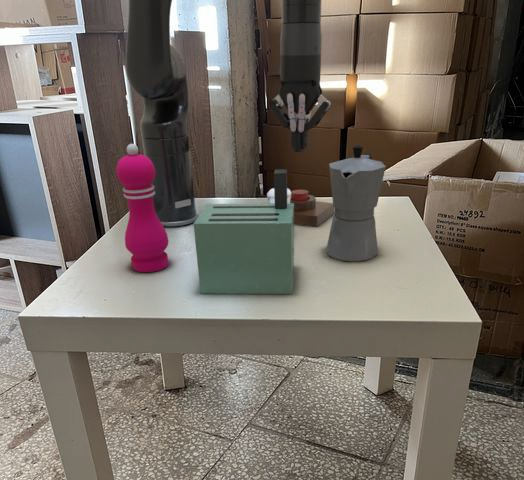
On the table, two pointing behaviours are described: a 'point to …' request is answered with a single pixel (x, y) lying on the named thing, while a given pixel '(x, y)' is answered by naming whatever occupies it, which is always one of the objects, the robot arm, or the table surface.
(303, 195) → the button
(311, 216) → the block
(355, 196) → the coffeepot
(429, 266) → the table surface
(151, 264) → the pepper mill
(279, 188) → the dark grey upright bar
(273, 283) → the toaster
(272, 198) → the milkshake
